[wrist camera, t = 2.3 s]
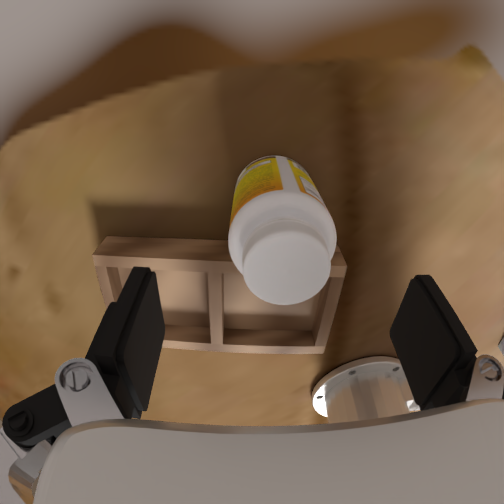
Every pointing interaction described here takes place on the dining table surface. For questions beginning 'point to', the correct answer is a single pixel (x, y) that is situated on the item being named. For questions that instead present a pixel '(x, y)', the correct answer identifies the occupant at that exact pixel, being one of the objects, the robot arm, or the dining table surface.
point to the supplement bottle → (280, 231)
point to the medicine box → (501, 346)
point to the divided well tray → (218, 297)
